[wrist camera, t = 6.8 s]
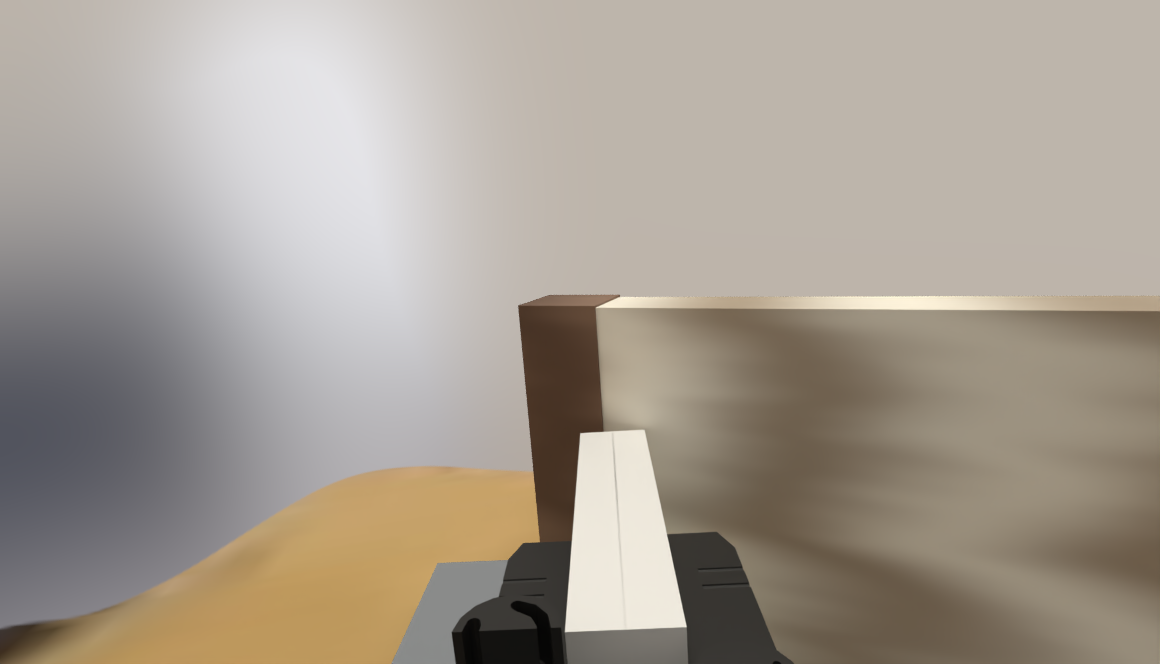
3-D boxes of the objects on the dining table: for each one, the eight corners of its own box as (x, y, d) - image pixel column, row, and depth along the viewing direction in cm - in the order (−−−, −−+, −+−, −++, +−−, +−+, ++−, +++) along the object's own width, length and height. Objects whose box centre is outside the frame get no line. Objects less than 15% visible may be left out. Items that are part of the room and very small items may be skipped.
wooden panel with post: (1396, 795, 12) (1558, 159, 9) (1665, 1099, 8) (2074, 136, 5) (595, 604, 19) (567, 221, 16) (526, 712, 15) (476, 231, 13)
